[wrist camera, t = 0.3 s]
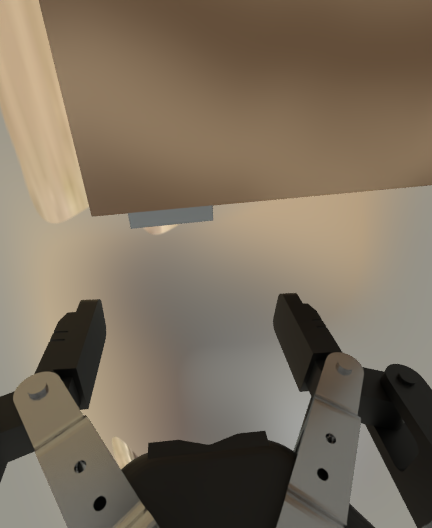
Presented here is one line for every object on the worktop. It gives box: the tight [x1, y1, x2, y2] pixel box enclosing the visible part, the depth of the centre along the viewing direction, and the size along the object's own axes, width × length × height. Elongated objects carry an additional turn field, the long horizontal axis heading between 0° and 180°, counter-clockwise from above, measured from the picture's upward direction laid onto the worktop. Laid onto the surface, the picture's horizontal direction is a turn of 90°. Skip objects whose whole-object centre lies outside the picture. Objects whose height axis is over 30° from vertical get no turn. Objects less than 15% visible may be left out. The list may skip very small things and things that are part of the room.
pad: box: [128, 205, 213, 229], centre depth 38 cm, size 7×11×1 cm, turn 92°
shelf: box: [39, 0, 432, 216], centre depth 21 cm, size 11×15×28 cm
